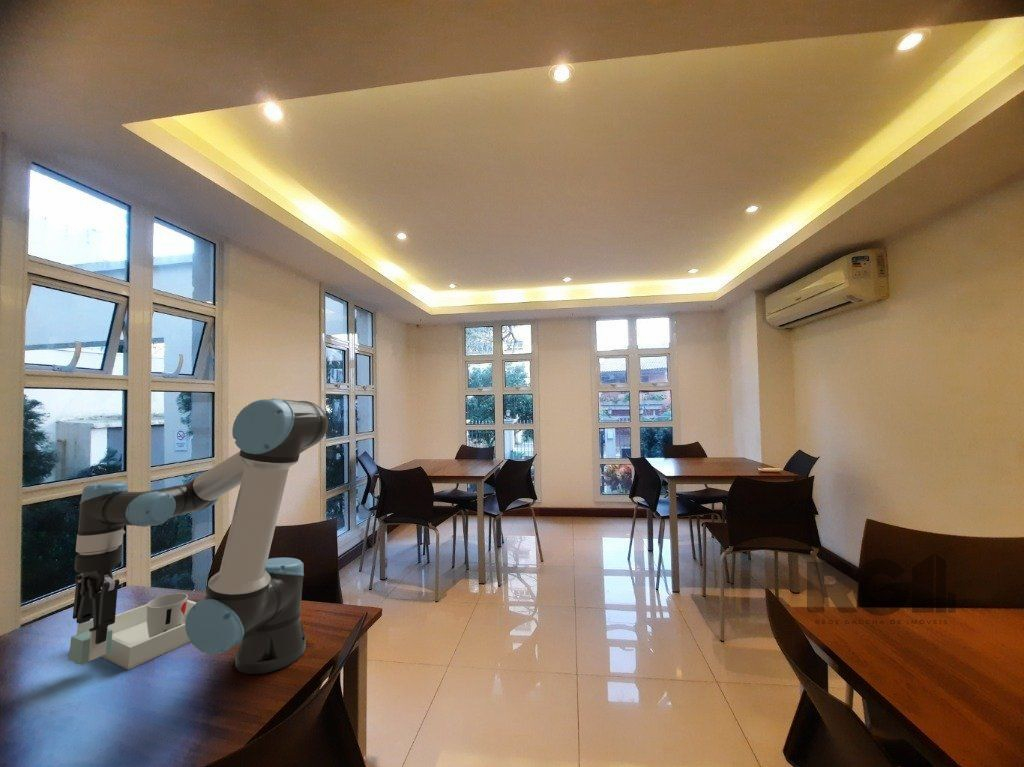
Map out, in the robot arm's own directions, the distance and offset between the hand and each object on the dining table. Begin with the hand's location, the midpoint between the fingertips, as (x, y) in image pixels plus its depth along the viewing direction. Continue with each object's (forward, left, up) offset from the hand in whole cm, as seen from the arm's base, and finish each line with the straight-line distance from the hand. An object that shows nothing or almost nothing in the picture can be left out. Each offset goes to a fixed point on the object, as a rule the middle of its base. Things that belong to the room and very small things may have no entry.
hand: (90, 653), depth 90 cm
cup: (0, -14, -4) cm, 15 cm away
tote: (+5, -14, -4) cm, 16 cm away
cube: (0, 0, 0) cm, 0 cm away
